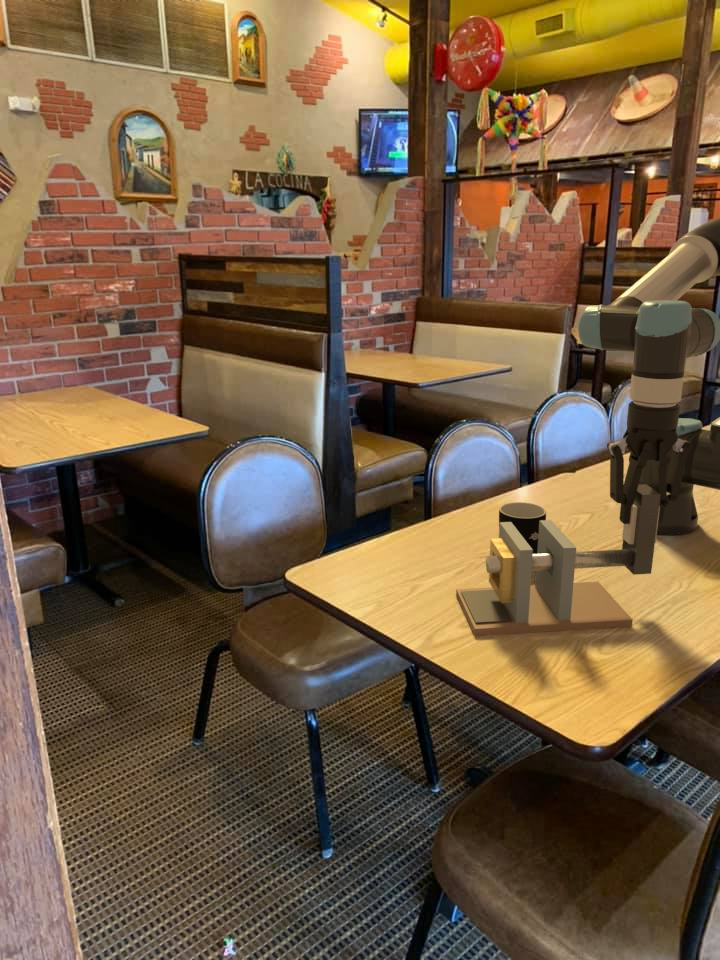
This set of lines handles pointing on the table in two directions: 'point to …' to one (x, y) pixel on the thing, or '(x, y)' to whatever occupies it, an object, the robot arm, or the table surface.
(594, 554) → the shaft
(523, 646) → the table surface
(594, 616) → the bearing block
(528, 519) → the mug
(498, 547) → the ring
